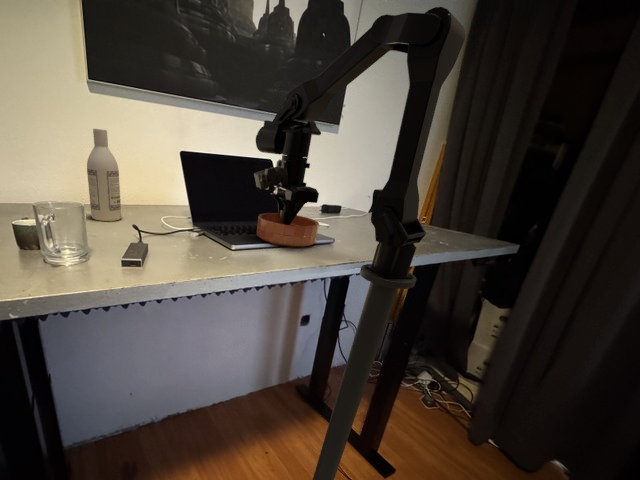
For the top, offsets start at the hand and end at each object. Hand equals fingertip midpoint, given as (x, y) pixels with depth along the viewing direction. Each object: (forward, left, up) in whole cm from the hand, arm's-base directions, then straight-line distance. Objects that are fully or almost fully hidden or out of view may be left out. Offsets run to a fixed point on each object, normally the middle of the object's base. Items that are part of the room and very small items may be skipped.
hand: (283, 226), depth 79 cm
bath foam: (+14, +42, -3) cm, 44 cm away
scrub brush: (0, 0, -3) cm, 3 cm away
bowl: (0, -1, -3) cm, 3 cm away
